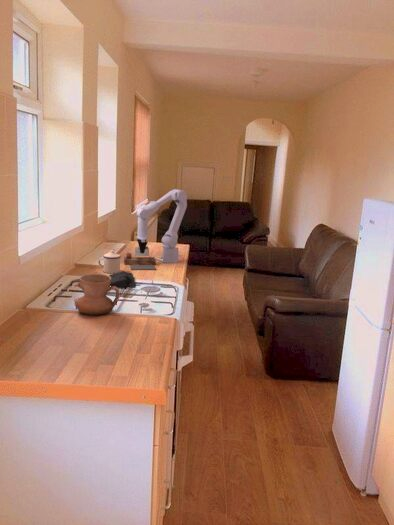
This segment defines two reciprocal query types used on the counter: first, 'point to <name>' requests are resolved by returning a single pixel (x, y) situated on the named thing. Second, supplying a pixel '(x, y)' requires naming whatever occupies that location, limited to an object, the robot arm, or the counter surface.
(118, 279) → the dark slate chunk
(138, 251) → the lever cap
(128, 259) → the body
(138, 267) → the rubber mat
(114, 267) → the teacup with lid
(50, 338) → the counter surface
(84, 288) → the ceramic jug
